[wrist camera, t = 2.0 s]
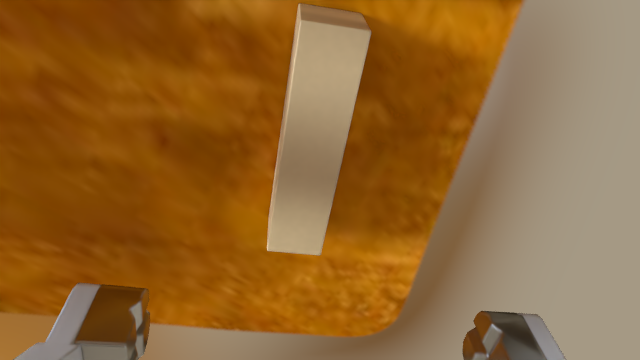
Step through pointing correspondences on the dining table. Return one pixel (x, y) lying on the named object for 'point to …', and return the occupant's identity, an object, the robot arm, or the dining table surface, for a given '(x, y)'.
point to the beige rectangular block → (315, 125)
